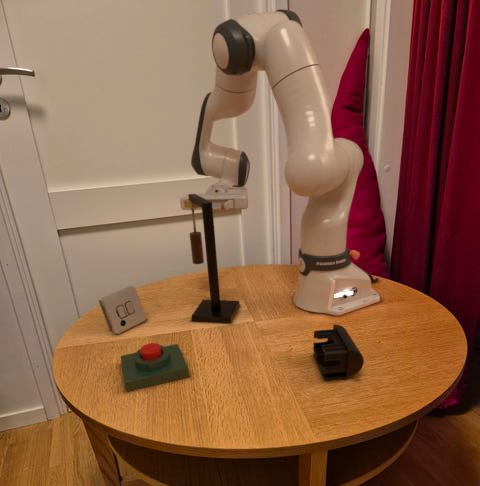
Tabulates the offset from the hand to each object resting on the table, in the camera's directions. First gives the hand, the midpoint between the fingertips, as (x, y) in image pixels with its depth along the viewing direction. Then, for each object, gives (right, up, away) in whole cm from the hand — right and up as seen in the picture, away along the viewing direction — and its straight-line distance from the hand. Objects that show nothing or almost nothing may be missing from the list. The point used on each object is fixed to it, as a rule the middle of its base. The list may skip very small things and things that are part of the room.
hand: (207, 207), depth 115 cm
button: (-8, -39, -34) cm, 52 cm away
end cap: (+28, -41, -34) cm, 60 cm away
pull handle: (-2, -16, -5) cm, 17 cm away
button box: (-8, -42, -32) cm, 54 cm away
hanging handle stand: (+2, -28, -7) cm, 29 cm away
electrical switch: (-19, -33, -14) cm, 41 cm away
